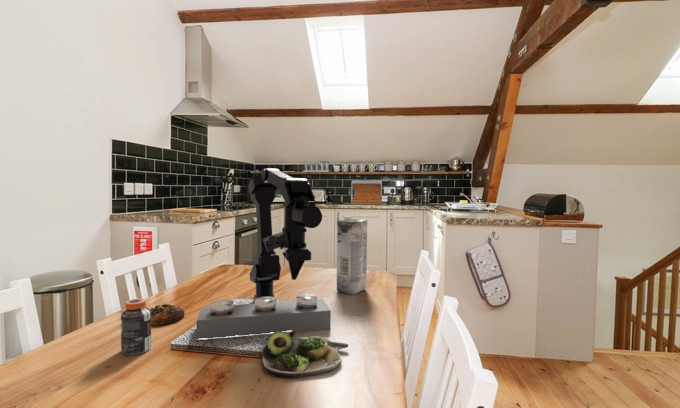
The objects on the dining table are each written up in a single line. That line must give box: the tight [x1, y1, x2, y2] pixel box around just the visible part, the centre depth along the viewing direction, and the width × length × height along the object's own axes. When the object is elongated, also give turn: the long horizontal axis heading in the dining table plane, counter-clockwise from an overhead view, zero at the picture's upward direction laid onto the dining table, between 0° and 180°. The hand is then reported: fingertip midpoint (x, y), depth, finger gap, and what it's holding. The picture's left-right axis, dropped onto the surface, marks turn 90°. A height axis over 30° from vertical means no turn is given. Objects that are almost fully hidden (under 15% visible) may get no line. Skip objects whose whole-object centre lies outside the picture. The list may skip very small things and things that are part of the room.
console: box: [196, 298, 332, 340], centre depth 96 cm, size 10×33×5 cm, turn 105°
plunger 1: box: [209, 298, 234, 316], centre depth 93 cm, size 6×6×7 cm
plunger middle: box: [254, 296, 277, 313], centre depth 96 cm, size 6×6×7 cm
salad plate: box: [261, 331, 349, 379], centre depth 80 cm, size 19×18×5 cm
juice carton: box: [336, 215, 368, 295], centre depth 131 cm, size 9×10×27 cm
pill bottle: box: [120, 298, 152, 356], centre depth 82 cm, size 6×6×11 cm
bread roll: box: [149, 303, 185, 327], centre depth 101 cm, size 11×11×5 cm
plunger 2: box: [295, 293, 318, 309], centre depth 99 cm, size 6×6×7 cm
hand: (293, 279), depth 101 cm, fingers closed
